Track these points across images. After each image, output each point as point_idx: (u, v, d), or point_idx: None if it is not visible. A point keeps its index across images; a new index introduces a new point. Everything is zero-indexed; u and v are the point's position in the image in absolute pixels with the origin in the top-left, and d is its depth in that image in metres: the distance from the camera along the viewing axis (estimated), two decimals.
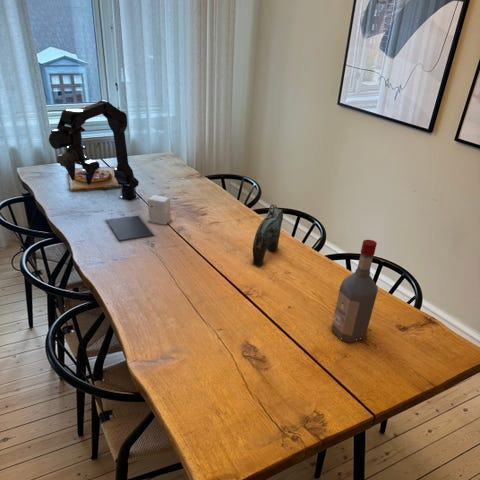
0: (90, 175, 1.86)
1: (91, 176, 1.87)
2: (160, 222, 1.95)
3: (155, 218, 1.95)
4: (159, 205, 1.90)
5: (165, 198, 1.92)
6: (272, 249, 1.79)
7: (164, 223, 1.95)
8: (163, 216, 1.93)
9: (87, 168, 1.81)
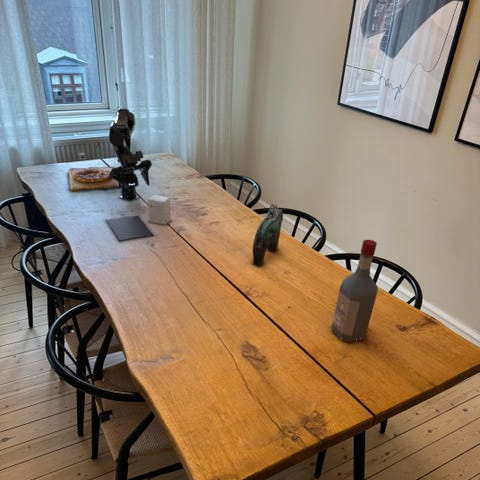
0: None
1: None
2: (160, 222, 1.95)
3: (155, 218, 1.95)
4: (159, 205, 1.90)
5: (165, 198, 1.92)
6: (272, 249, 1.79)
7: (164, 223, 1.95)
8: (163, 216, 1.93)
9: (150, 162, 1.94)
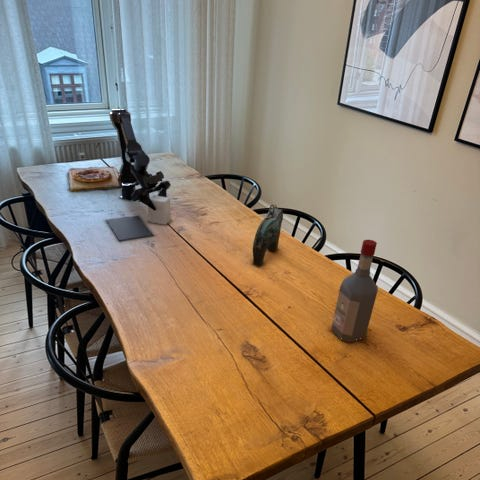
0: None
1: None
2: (160, 222, 1.95)
3: (155, 218, 1.95)
4: (159, 205, 1.90)
5: (165, 198, 1.92)
6: (272, 249, 1.79)
7: (164, 223, 1.95)
8: (163, 216, 1.93)
9: (169, 183, 1.96)
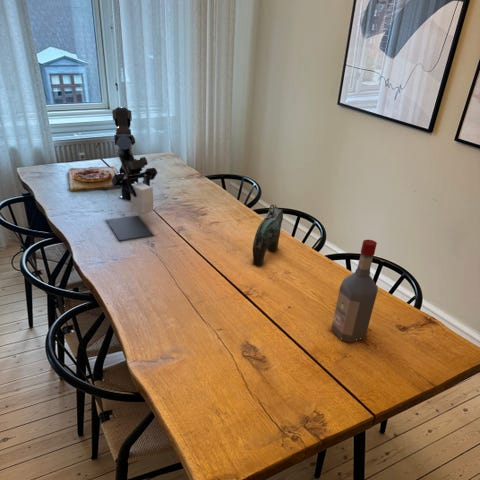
0: None
1: None
2: (139, 210, 1.87)
3: (136, 206, 1.88)
4: (138, 192, 1.83)
5: (147, 187, 1.84)
6: (272, 249, 1.79)
7: (142, 212, 1.86)
8: (141, 205, 1.85)
9: (155, 170, 1.88)
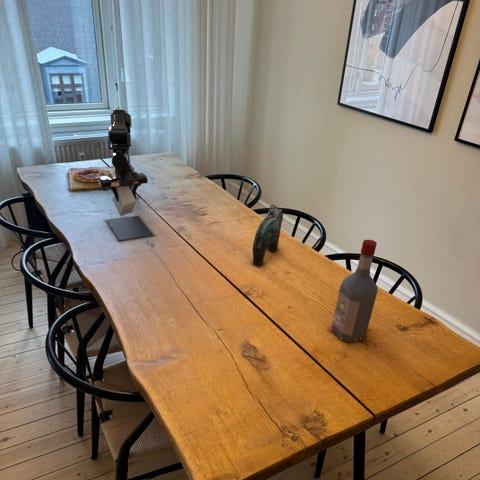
0: None
1: None
2: (118, 209, 1.90)
3: (116, 204, 1.89)
4: (120, 201, 1.83)
5: (131, 199, 1.83)
6: (272, 249, 1.79)
7: None
8: (120, 210, 1.87)
9: (145, 181, 1.82)
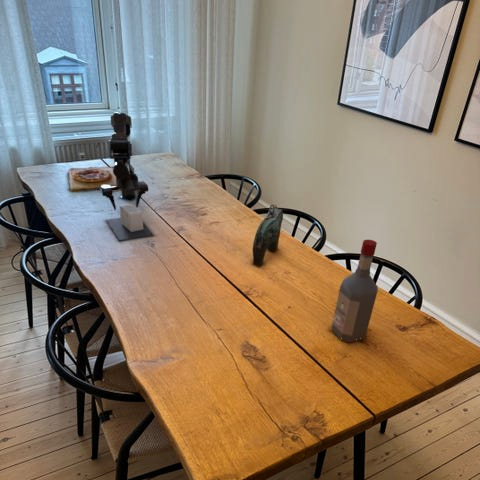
0: None
1: None
2: (121, 218, 1.91)
3: (122, 214, 1.89)
4: (129, 225, 1.86)
5: (139, 227, 1.87)
6: (272, 249, 1.79)
7: (121, 222, 1.92)
8: (124, 225, 1.90)
9: (146, 189, 1.84)
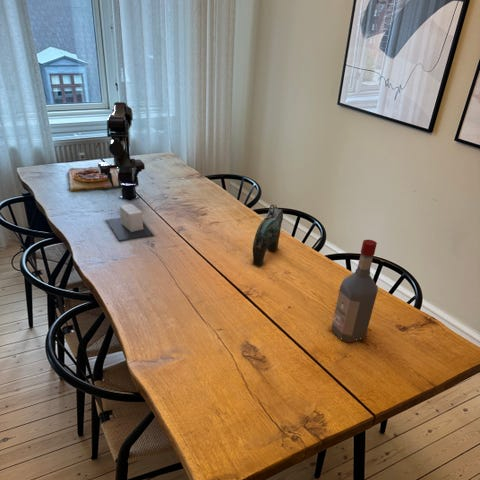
0: None
1: None
2: (121, 218, 1.91)
3: (122, 215, 1.89)
4: (128, 225, 1.86)
5: (139, 227, 1.87)
6: (272, 249, 1.79)
7: (121, 222, 1.92)
8: (124, 225, 1.90)
9: (142, 167, 1.92)
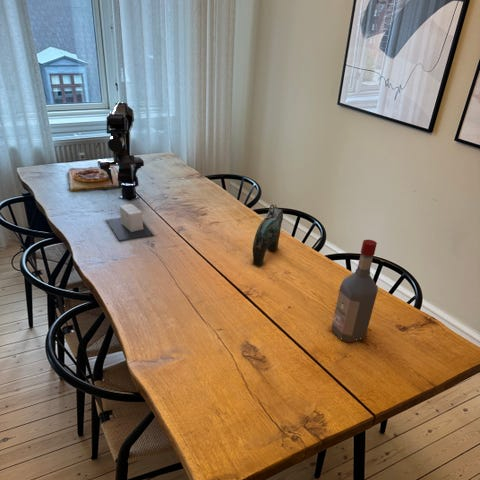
0: None
1: None
2: (121, 218, 1.91)
3: (122, 215, 1.89)
4: (128, 225, 1.86)
5: (139, 227, 1.87)
6: (272, 249, 1.79)
7: (121, 222, 1.92)
8: (124, 225, 1.90)
9: (142, 164, 1.95)
